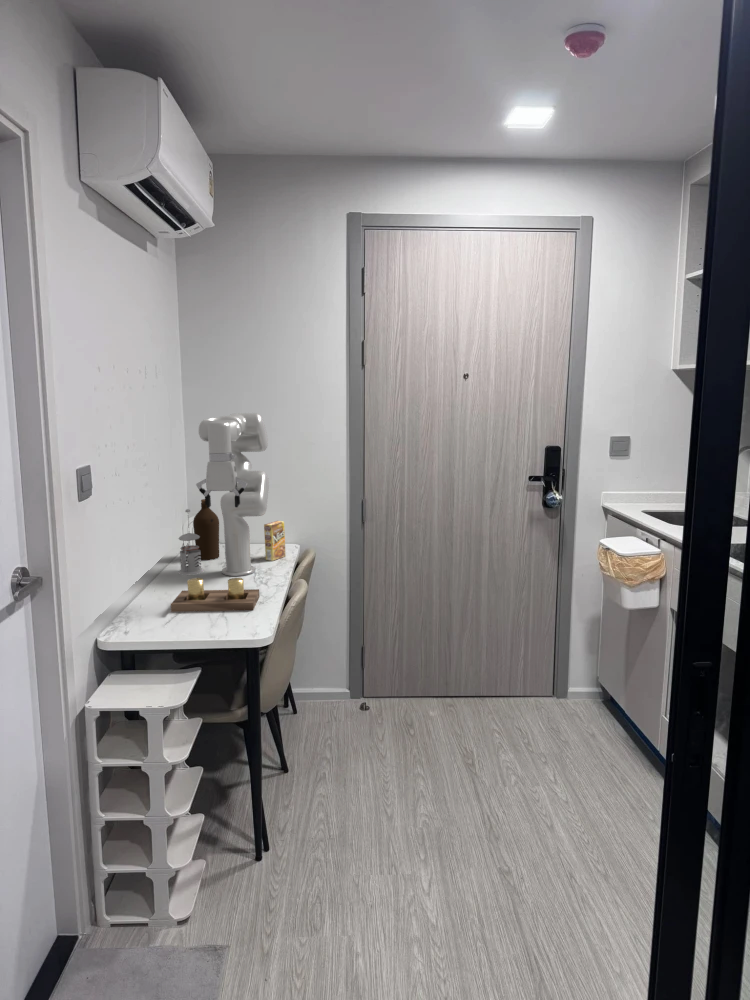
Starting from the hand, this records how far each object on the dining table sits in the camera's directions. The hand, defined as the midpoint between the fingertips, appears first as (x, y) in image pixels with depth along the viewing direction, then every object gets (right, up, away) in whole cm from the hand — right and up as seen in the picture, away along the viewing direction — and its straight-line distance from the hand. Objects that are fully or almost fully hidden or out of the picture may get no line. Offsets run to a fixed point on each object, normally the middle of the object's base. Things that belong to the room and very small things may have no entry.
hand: (222, 506), depth 227 cm
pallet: (+1, -33, -12) cm, 35 cm away
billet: (-6, -32, -12) cm, 34 cm away
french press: (-20, -26, +29) cm, 44 cm away
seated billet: (+7, -32, -11) cm, 34 cm away
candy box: (+11, -22, +49) cm, 55 cm away
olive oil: (-18, -22, +51) cm, 59 cm away
